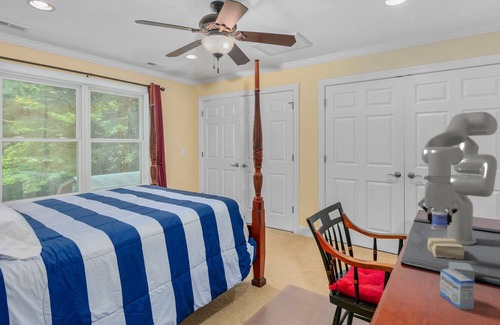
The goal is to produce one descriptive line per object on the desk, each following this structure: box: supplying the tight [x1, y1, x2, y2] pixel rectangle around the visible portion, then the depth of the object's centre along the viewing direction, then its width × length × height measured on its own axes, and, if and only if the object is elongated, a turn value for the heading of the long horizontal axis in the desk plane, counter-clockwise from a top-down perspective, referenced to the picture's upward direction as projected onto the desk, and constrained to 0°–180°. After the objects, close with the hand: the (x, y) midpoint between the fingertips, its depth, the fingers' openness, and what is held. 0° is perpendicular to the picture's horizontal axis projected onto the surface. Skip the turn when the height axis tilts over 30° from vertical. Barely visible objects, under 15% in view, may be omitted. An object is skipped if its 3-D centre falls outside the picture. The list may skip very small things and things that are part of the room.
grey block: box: [448, 261, 476, 281], centre depth 100 cm, size 6×6×4 cm
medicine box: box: [439, 268, 475, 311], centre depth 85 cm, size 8×4×9 cm, turn 5°
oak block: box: [427, 237, 465, 260], centre depth 119 cm, size 10×10×5 cm
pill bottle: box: [431, 208, 448, 232], centre depth 114 cm, size 5×5×10 cm
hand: (439, 222), depth 114 cm, fingers closed on pill bottle, 5 cm apart
